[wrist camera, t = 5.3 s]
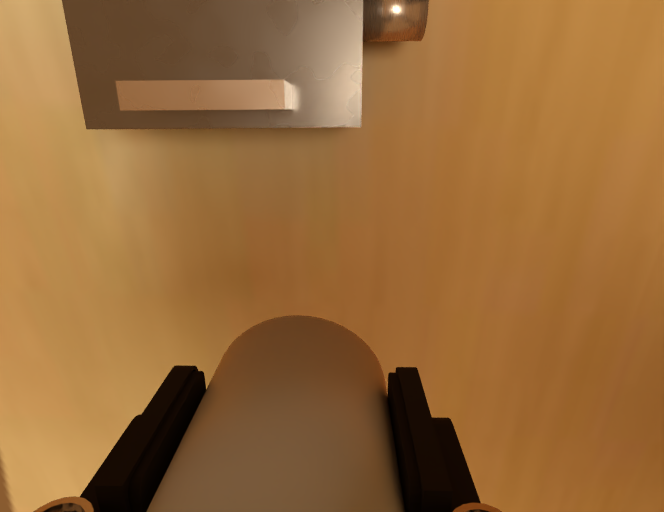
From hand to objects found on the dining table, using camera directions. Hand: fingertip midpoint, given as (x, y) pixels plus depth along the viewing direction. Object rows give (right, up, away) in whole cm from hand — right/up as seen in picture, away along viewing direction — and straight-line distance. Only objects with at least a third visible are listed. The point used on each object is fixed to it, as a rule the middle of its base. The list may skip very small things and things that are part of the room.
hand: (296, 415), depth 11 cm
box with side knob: (-2, +18, +11) cm, 21 cm away
